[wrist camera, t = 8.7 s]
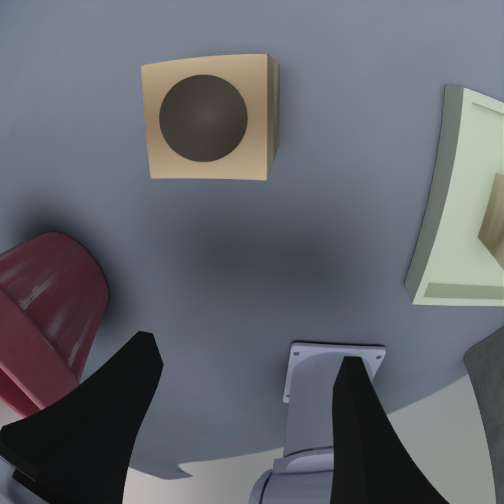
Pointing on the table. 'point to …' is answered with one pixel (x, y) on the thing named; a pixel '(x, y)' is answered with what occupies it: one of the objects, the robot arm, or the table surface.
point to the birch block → (494, 221)
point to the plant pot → (47, 319)
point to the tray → (460, 207)
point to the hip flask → (490, 398)
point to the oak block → (212, 116)
